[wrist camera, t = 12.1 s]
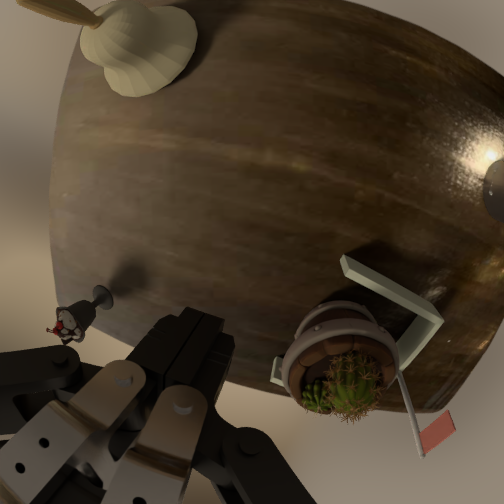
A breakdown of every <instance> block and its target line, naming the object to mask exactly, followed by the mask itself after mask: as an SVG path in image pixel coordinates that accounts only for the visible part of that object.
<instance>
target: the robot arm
mask: <svg viewBox="0 0 504 504" xmlns="http://www.w3.org/2000/svg"><path fill="white" fill-rule="evenodd" d="M483 195H484V201H485V205H486V208H487V210H488V212H489V214H490V215H491V216H492V217H493V218H494V219H496V220H498V221H500V222H502V223H504V161H497V162H495V163H493V164H492V165H491V166H490V167H489V169H488V171H487V173H486V176H485V179H484V185H483ZM224 321H225V320H224V319H222V318H219V317H216V316H213V315H210V314H207V313H206V314H205V313H204V312H201V311H198V310H196V309H193V308H190V307H186V308H185V309H184V310H183V312H182V313H181V314H180V315H179V317H177V316H174V315H172V314H170V315H168V316H165V317H163V318H161V319H159V320H158V322H157V323H156V324H155V325H154V326H153V328H152V329H151V330H150V331H149V332H148V333H147V335H145V337H144V338H143V339H142V340H141V341H140V342H139V344H138V345H137V346H136V347H135V348H134V350H133V351H132V352H131V353H130V354H129V355H128V357H127V358H126V359H125V360H115V361H112V362H110V363H108V364H107V365H106V366H105V367H100V366H96V365H92V364H88V363H83V362H81V361H80V357H79V355H78V353H77V352H76V351H75V350H74V349H73V348H71V347H69V346H66V345H54V346H48V347H41V348H34V349H27V350H20V351H12V352H3V353H0V435H4V434H15V435H14V436H13V437H12V438H11V439H10V440H1V441H0V504H182V502H183V499H184V495H185V491H186V488H187V485H188V482H189V478H190V475H191V472H192V468H194V469H195V470H196V471H198V472H199V473H201V474H202V475H204V476H205V477H207V478H208V479H210V480H211V483H212V485H213V487H214V489H215V491H216V493H217V495H218V496H219V499H220V500H221V502H222V504H317V503H316V502H315V500H314V499H313V498H312V497H311V495H310V494H309V493H308V491H307V490H306V489H305V487H304V486H303V485H302V483H301V482H300V480H299V479H298V478H297V476H296V475H295V473H294V472H293V471H292V469H291V468H290V466H289V465H288V463H287V462H286V460H285V459H284V457H283V456H282V455H281V453H280V452H279V450H278V449H277V447H276V446H275V444H274V442H273V441H272V440H271V438H270V437H269V436H268V435H267V434H265V433H264V432H262V431H260V430H258V429H255V428H251V427H241V428H236V427H234V426H233V425H231V424H229V423H228V422H226V421H225V420H224V419H223V418H221V417H220V416H219V414H218V413H217V411H216V409H215V404H216V402H217V399H218V396H219V394H220V391H221V389H222V386H223V384H224V382H225V379H226V376H227V374H228V371H229V367H230V363H231V360H232V356H233V353H234V349H235V343H234V338H233V336H232V335H228V334H225V333H222V331H223V326H224ZM48 390H49V391H48ZM35 392H36V393H35ZM28 393H29V394H28Z"/></svg>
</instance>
